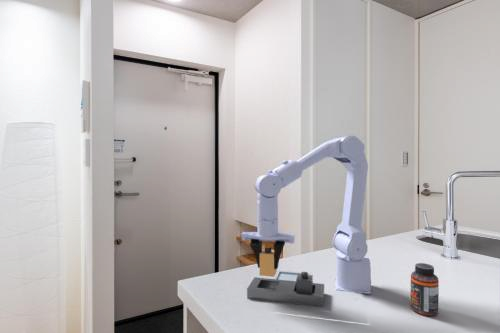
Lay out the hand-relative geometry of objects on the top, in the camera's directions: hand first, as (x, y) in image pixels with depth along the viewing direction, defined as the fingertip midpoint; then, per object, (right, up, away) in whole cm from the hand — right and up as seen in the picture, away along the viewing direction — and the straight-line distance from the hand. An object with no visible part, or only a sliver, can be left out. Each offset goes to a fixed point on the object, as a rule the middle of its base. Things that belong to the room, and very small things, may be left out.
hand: (268, 267), depth 83 cm
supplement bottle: (+38, -8, -9) cm, 40 cm away
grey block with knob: (+10, -8, -2) cm, 13 cm away
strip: (+5, -8, -1) cm, 9 cm away
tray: (+8, -8, +9) cm, 14 cm away
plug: (0, -2, 0) cm, 2 cm away
